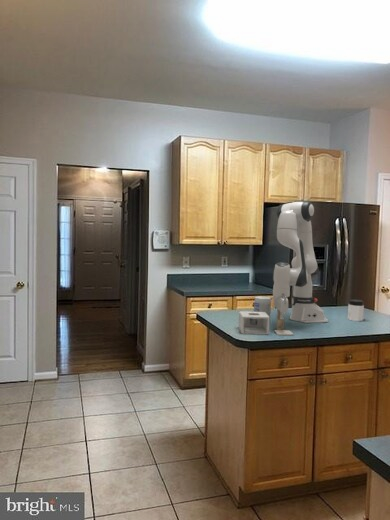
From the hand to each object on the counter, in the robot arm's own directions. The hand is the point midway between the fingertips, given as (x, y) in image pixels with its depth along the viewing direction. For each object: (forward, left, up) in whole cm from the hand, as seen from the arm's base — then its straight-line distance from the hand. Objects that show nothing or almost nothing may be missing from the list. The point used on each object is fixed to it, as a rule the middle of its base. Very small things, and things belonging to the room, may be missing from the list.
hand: (280, 318), depth 221 cm
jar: (-53, -30, -6) cm, 61 cm away
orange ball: (+15, +4, -3) cm, 16 cm away
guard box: (+15, +4, -6) cm, 17 cm away
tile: (0, +9, -6) cm, 11 cm away
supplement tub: (+7, -16, -6) cm, 19 cm away
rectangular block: (0, 0, -6) cm, 6 cm away
